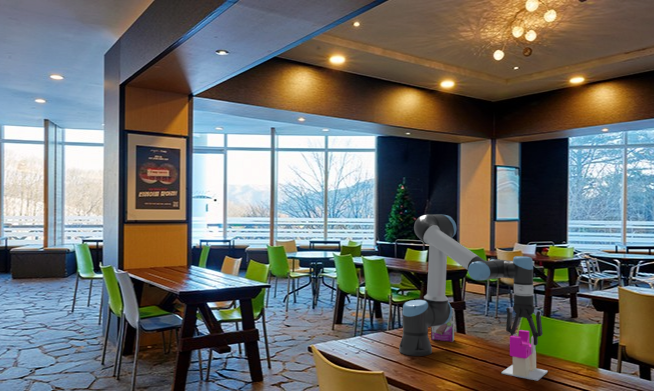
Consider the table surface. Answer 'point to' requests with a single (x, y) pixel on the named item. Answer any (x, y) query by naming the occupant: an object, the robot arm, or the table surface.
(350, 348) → the table surface
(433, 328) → the candy bar box
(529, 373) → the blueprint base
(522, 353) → the toy block
